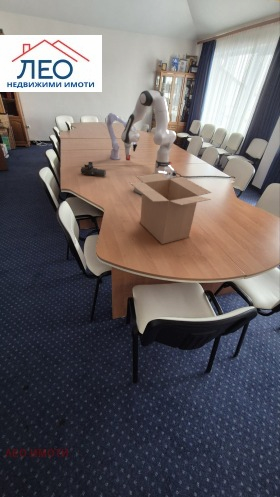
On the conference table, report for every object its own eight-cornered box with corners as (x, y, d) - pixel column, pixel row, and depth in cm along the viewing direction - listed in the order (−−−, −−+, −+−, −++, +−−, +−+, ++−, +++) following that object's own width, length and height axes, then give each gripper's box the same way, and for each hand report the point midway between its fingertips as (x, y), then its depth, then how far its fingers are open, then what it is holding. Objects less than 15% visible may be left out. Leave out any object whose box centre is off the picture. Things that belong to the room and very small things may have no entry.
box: (210, 242, 124) (224, 196, 108) (157, 258, 109) (164, 208, 93) (167, 209, 154) (173, 169, 138) (121, 218, 140) (121, 175, 123)
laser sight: (103, 178, 196) (102, 166, 190) (79, 175, 199) (78, 163, 193) (106, 175, 204) (106, 163, 198) (83, 172, 206) (82, 160, 201)
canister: (130, 160, 237) (131, 155, 234) (127, 160, 234) (127, 155, 231) (128, 158, 239) (128, 154, 236) (124, 159, 237) (124, 154, 234)
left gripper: (129, 140, 238) (129, 153, 247) (139, 138, 247) (138, 151, 255) (125, 138, 242) (125, 151, 251) (135, 137, 251) (134, 150, 259)
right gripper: (126, 141, 235) (126, 155, 244) (124, 145, 219) (124, 160, 227) (132, 141, 235) (131, 155, 244) (130, 146, 219) (130, 160, 227)
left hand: (131, 151), depth 253 cm, fingers open, 7 cm apart
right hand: (128, 157), depth 235 cm, fingers closed on canister, 5 cm apart
